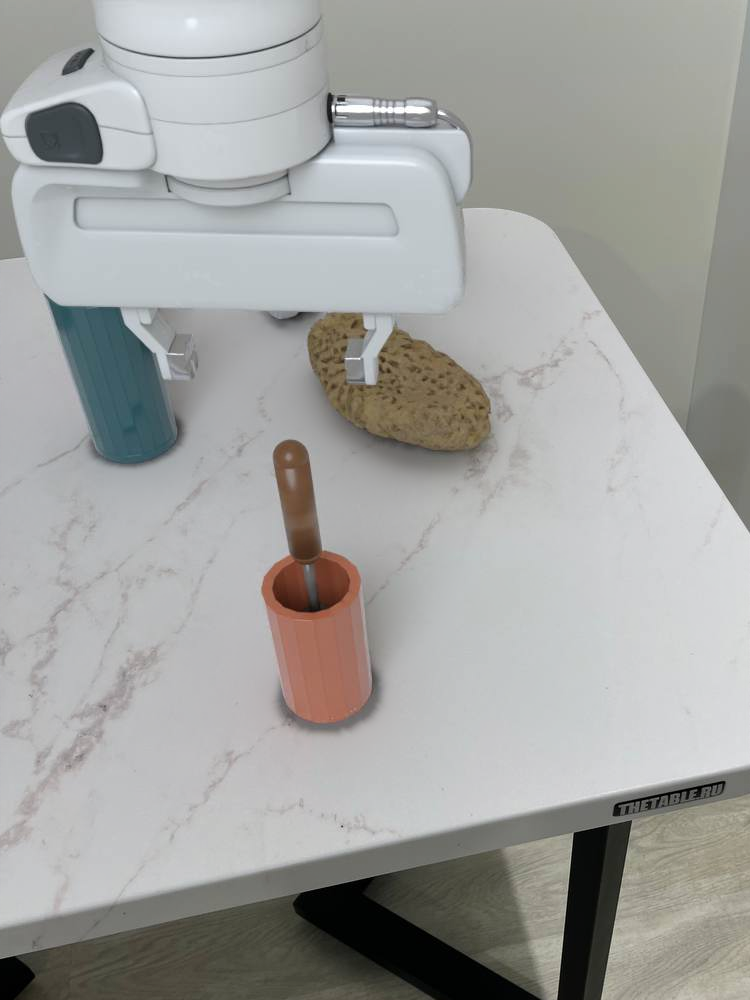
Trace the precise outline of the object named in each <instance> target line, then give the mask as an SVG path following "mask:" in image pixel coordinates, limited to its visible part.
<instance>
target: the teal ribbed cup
mask: <svg viewBox="0 0 750 1000" xmlns="http://www.w3.org/2000/svg"><path fill="white" fill-rule="evenodd" d="M42 293H43V292H42ZM43 297H44V299H45V300H44V301H45V303H46V306H47V310H48V313H49V315H50V318H51V321H52V324H53V326H54V330H55V333H56V335H57V338H58V341H59V345H60V348H61V351H62V354H63V356H64V360H65V362H66V365H67V368H68V372H69V375H70V377H71V380H72V383H73V386H74V390H75V393H76V395H77V398H78V401H79V404H80V407H81V410H82V413H83V416H84V419H85V422H86V425H87V428H88V431H89V434H90V438H91V440H92V442H93V444H94V447H95V450H96V452H97V453H98V454H99V455H100V456H101V457H102V458H104V459H106V460H108V461H111V462H114V463H119V464H136V463H142V462H146V461H150V460H153V459H156V458H157V457H160V456H161V455H163V454H165V453H166V452H167V451H169V450H170V449H171V448H172V447H173V445H174V444H175V442H176V441H177V439H178V427H177V423H176V418H175V414H174V411H173V406H172V401H171V399H170V395H169V391H168V387H167V383H166V380H164V379H163V378H162V374H161V371H160V367H159V363H158V360H157V356H156V353H153V352H152V351H151V350H150V349H149V348H148V347H147V346H146V345H145V344H144V343H143V342H142V341H141V340H140V339H139V338H138V337H137V336H136V335H135V334H134V333H133V332H132V331H131V330H130V329H129V328H128V327H127V326H126V325H125V323H124V320H123V316H122V313H121V309H120V307H92V306H62V305H59V304H57V303H55V302H54V301H53V300H52V299H50V298H49V297H48V296H47V295H46V294H45V293H43Z"/></svg>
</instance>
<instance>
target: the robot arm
mask: <svg viewBox="0 0 750 1000" xmlns="http://www.w3.org/2000/svg"><path fill="white" fill-rule="evenodd" d="M89 2H90V4H91V6H92V12H93V16H94V22H95V28H96V33H97V36H98V38H96V39H95V38H94V39H92V40H90V41H87V42H84V43H80V44H78V45H76V46H73V47H70V48H66V49H64V50H61V51H59V52H57V53H54V54H52V55H51V56H49V57H48V58H47V59H45V61H43V62H42V63H41V64H40V65H39V66H38V67H36V68H35V70H34V71H32V72H31V74H29V75H28V76H27V77H26V79H25V80H24V81H22V83H21V85H19V87H18V88H17V89H16V91H15V93H13V95H12V97H11V98H10V100H9V101H8V103H7V104H6V106H5V108H4V110H3V112H2V113H1V116H0V132H1V135H2V138H3V139H2V140H3V142H4V144H5V146H6V149H7V150H8V152H9V154H11V156H12V157H13V158H14V159H15V160H16V161H18V162H19V163H20V164H19V166H18V167H17V168H16V170H15V172H14V174H13V177H12V180H11V189H10V190H11V191H10V192H11V193H10V195H11V204H12V208H13V213H14V219H15V224H16V228H17V232H18V237H19V240H20V244H21V247H22V251H23V256H24V258H25V261H26V264H27V267H28V271H29V273H30V276H31V278H32V280H33V283H34V285H35V286H36V287H37V289H38V290H40V292H42V293H45V294H46V295H47V296H48V297H49V298H50V299H52V300H53V301H54V302H55V303H57V304H59V305H62V306H92V307H120V309H121V313H122V316H123V320H124V323H125V325H126V326H127V327H128V328H129V329H130V330H131V331H132V332H133V333H134V334H135V335H136V336H137V337H138V338H139V339H140V340H141V341H142V342H143V343H144V344H145V345H146V346H147V347H148V348H149V349H150V350H151V351H152V352H153V353H156V356H157V360H158V363H159V367H160V371H161V374H162V378H163V379H164V380H165V381H168V380H169V381H193V380H194V379H195V373H197V371H198V368H199V358H198V353H197V352H196V351H195V346H196V344H195V340H194V336H193V334H190V333H177V332H176V330H175V329H174V328H173V327H172V325H171V324H170V323H169V322H168V320H167V319H166V318H165V317H164V316H163V315H162V313H161V312H160V311H159V309H173V310H175V309H178V310H215V311H217V310H218V311H256V312H261V311H263V312H268V311H296V312H299V313H332V312H338V313H363V322H364V328H365V329H367V330H368V332H367V333H366V335H365V337H364V338H349V339H348V343H347V350H346V352H345V357H344V360H345V369H346V371H347V376H346V379H347V384H362V385H376V383H377V378H378V370H379V360H378V354H379V352H380V350H381V349H382V347H383V346H384V344H385V342H386V341H387V339H388V337H389V336H390V334H391V333H392V331H393V325H394V320H395V318H396V315H421V316H422V315H424V316H443V315H448V314H450V313H451V312H452V311H453V310H454V309H455V307H457V305H458V304H459V303H460V302H461V301H462V300H463V298H464V297H465V294H466V288H467V280H468V279H467V278H468V277H467V276H468V249H467V236H466V235H467V234H466V226H465V217H464V211H463V204H462V201H463V200H464V199H465V197H466V196H467V195H468V193H469V191H470V190H471V187H472V185H473V180H474V143H473V139H472V135H471V132H470V130H469V128H468V126H467V125H466V124H465V122H464V121H463V120H462V119H461V118H460V117H459V116H458V115H457V114H455V113H454V112H451V111H450V110H447V109H444V108H441V107H438V101H437V100H436V99H433V98H430V97H424V96H407V97H405V98H395V99H394V98H384V97H377V96H373V97H371V96H372V95H370V96H347V95H334V94H333V93H332V92H331V91H330V78H329V66H328V59H327V58H328V56H327V45H326V36H325V26H324V17H323V7H322V1H321V0H89ZM375 97H376V98H375ZM438 120H442V121H444V122H446V123H442V122H441V123H440V122H439V123H438Z"/></svg>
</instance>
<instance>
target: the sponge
mask: <svg viewBox="0 0 750 1000" xmlns="http://www.w3.org/2000/svg"><path fill="white" fill-rule="evenodd" d="M367 332H368V330H367V329H365V328H364V322H363V313H338V312H327V313H326V315H325V316H324V318H319V319H318V321H317V322H316V321H314V323H313V324H312V326H311V327H310V328H309V332H308V334H307V338H306V346H307V352H308V359H309V364H310V366H311V369H312V370H313V373H314V375H315V376H316V377H317V378H318V379H319V382H320V384H321V385H322V388H323V391H324V393H325V396H326V398H327V400H328V402H329V404H330V405H331V406H332V407H333V408H334V410H336V411H337V412H338V413H339V414H340V415H341V416H342V417H344V418H345V419H346V420H347V421H348V422H350V423H352V424H353V425H354V426H355V427H357V428H358V429H361V430H366V431H367V433H370V434H372V435H376V436H379V437H382V438H385V439H393V440H396V441H398V442H403V443H407V444H411V445H414V446H417V447H421V448H425V449H429V450H431V451H451V452H453V451H457V450H459V451H469V450H472V449H473V448H476V447H477V446H478V445H479V444H480V443H481V442H483V440H485V439H486V438H487V437H488V436H489V434H491V429H492V426H491V421H490V415H492V411H491V410H492V409H491V407H492V405H491V398H490V397H489V395H487V393H486V391H485V389H484V387H483V385H482V384H481V382H479V380H477V379H476V378H475V377H474V376H473V375H472V374H470V373H469V372H468V371H467V370H465V369H464V368H463V367H462V366H461V365H459V364H458V363H457V362H456V361H455V360H454V359H453V358H451V357H450V356H449V355H448V354H446V353H445V352H442V351H439V350H436V349H435V348H433V346H432V345H431V344H430V343H428V342H427V341H426V340H421V339H414V338H412V336H411V335H410V334H409V332H407V331H404V330H403V329H401V328H399V323H398V321H397V320H395V319H394V325H393V331H392V333H391V334H390V336H389V337H388V339H387V341H386V342H385V344H384V346H383V347H382V349H381V350H380V352H379V354H378V360H379V370H378V378H377V383H376V385H362V384H347V379H346V376H347V371H346V369H345V360H344V357H345V352H346V350H347V343H348V339H349V338H364V337H365V335H366V333H367Z"/></svg>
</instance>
